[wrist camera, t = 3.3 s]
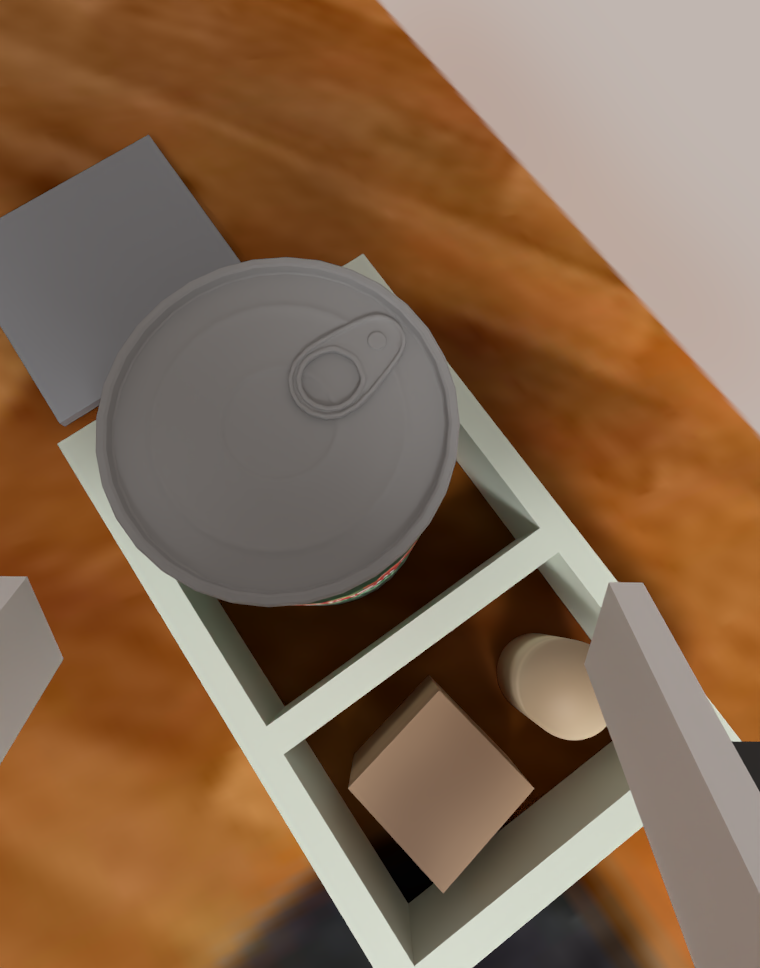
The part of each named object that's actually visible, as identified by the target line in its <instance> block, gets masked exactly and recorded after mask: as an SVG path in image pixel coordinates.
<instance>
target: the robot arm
mask: <svg viewBox="0 0 760 968" xmlns="http://www.w3.org/2000/svg"><path fill="white" fill-rule="evenodd" d="M62 660H63V657H62V654H61V652H60V650H59V648H58V645H57V643H56V641H55V639H54V636H53V634H52V632H51V630H50V627H49V625H48V623H47V621H46V618H45V616H44V614H43V612H42V609H41V607H40V605H39V603H38V600H37V598H36V596H35V594H34V591H33V589H32V587H31V585H30V582H29V580H28V578H27V577H9V576H0V764H1V762H2V760H3V759H4V757H5V755H6V754H7V752H8V750H9V749H10V747H11V745H12V744H13V742H14V740H15V739H16V737H17V735H18V734H19V732H20V730H21V729H22V727H23V725H24V724H25V722H26V720H27V719H28V717H29V715H30V714H31V712H32V710H33V709H34V707H35V705H36V704H37V702H38V700H39V699H40V697H41V695H42V694H43V692H44V690H45V689H46V687H47V685H48V684H49V682H50V680H51V679H52V677H53V675H54V674H55V672H56V670H57V669H58V667H59V665H60V664H61V662H62ZM584 665H585V668H586V670H587V673H588V676H589V679H590V681H591V684H592V687H593V690H594V692H595V695H596V698H597V700H598V703H599V706H600V709H601V711H602V714H603V717H604V720H605V722H606V725H607V728H608V731H609V733H610V736H611V739H612V742H613V744H614V747H615V750H616V752H617V755H618V758H619V761H620V763H621V766H622V769H623V772H624V774H625V777H626V780H627V783H628V785H629V788H630V791H631V794H632V796H633V799H634V802H635V804H636V807H637V810H638V813H639V815H640V818H641V821H642V824H643V826H644V829H645V832H646V835H647V837H648V840H649V843H650V845H651V848H652V851H653V854H654V856H655V859H656V862H657V865H658V867H659V870H660V873H661V876H662V878H663V881H664V884H665V887H666V889H667V892H668V895H669V897H670V900H671V903H672V906H673V908H674V911H675V914H676V917H677V919H678V922H679V925H680V928H681V930H682V933H683V936H684V939H685V941H686V944H687V947H688V949H689V952H690V955H691V958H692V960H693V963H694V966H695V968H760V742H733V741H731V740H730V738H729V736H728V734H727V732H726V731H725V729H724V727H723V725H722V723H721V722H720V720H719V718H718V716H717V714H716V713H715V711H714V709H713V707H712V706H711V704H710V702H709V700H708V698H707V697H706V695H705V693H704V691H703V689H702V688H701V686H700V684H699V682H698V680H697V679H696V677H695V675H694V673H693V671H692V670H691V668H690V666H689V664H688V662H687V661H686V659H685V657H684V655H683V654H682V652H681V650H680V648H679V646H678V645H677V643H676V641H675V639H674V637H673V636H672V634H671V632H670V630H669V628H668V627H667V625H666V623H665V621H664V619H663V618H662V616H661V614H660V612H659V610H658V609H657V607H656V605H655V603H654V602H653V600H652V598H651V596H650V594H649V593H648V591H647V589H646V587H645V585H644V584H643V583H634V582H609V583H608V587H607V590H606V593H605V597H604V600H603V603H602V607H601V610H600V613H599V617H598V620H597V623H596V627H595V630H594V633H593V637H592V640H591V643H590V647H589V650H588V653H587V657H586V660H585V663H584Z"/></svg>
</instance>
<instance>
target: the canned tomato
mask: <svg viewBox="0 0 760 968" xmlns="http://www.w3.org/2000/svg"><path fill="white" fill-rule="evenodd" d="M459 428H460V420H459V411H458V403H457V394H456V388H455V385H454V382H453V379H452V376H451V373H450V370H449V367H448V364H447V361H446V358H445V356H444V354H443V352H442V351H441V349H440V347H439V346H438V344H437V342H436V340H435V339H434V337H433V335H432V333H431V332H430V330H429V328H428V327H427V326H426V325H425V324H424V323H423V322H422V320H421V319H420V318H419V317H418V316H417V315H416V314H415V313H414V311H413V310H412V309H411V308H410V307H409V306H408V305H407V304H406V303H405V302H404V301H402V300H401V299H400V298H398V297H397V296H396V295H394V294H393V293H392V292H391V291H389V290H388V289H387V288H385V287H384V286H383V285H381V284H380V283H378V282H376V281H374V280H372V279H370V278H368V277H366V276H364V275H362V274H360V273H358V272H356V271H354V270H352V269H348V268H345V267H341V266H338V265H334V264H331V263H327V262H324V261H320V260H311V259H301V258H291V257H281V258H268V259H254V260H250V261H246V262H242V263H238V264H234V265H230V266H226V267H222V268H219V269H217V270H215V271H213V272H211V273H208V274H206V275H204V276H202V277H199V278H197V279H195V280H193V281H191V282H189V283H187V284H186V285H184V286H183V287H182V288H180V289H179V290H177V291H176V292H174V293H173V294H171V295H170V296H168V297H167V298H166V299H164V300H163V301H161V302H160V303H159V304H158V305H157V306H156V307H155V308H154V309H153V310H152V311H151V312H150V313H149V314H148V315H147V316H146V317H145V318H144V319H143V320H142V321H141V322H140V323H139V324H138V325H137V326H136V328H135V329H134V331H133V332H132V333H131V335H130V336H129V338H128V339H127V341H126V342H125V344H124V345H123V346H122V348H121V349H120V351H119V352H118V354H117V356H116V358H115V361H114V363H113V365H112V367H111V370H110V372H109V374H108V376H107V379H106V381H105V383H104V386H103V391H102V395H101V399H100V404H99V408H98V413H97V417H96V457H97V462H98V467H99V473H100V478H101V483H102V487H103V490H104V492H105V494H106V497H107V499H108V501H109V504H110V506H111V509H112V511H113V513H114V516H115V518H116V520H117V521H118V522H119V524H120V525H121V527H122V528H123V530H124V531H125V532H126V534H127V535H128V537H129V538H130V539H131V541H132V542H133V544H134V545H135V547H136V548H137V549H138V550H140V551H141V552H142V553H143V554H144V555H145V556H146V557H147V558H148V559H149V560H150V561H152V562H153V563H154V564H155V565H156V566H157V567H158V568H159V569H160V570H161V571H162V572H164V573H166V574H167V575H169V576H171V577H173V578H174V579H176V580H178V581H179V582H181V583H183V584H184V585H186V586H188V587H190V588H191V589H193V590H195V591H197V592H200V593H203V594H206V595H209V596H212V597H215V598H218V599H221V600H224V601H227V602H230V603H237V604H245V605H254V606H262V607H277V606H289V605H292V606H293V605H315V606H328V605H340V604H344V603H347V602H350V601H354V600H357V599H360V598H362V597H364V596H366V595H368V594H370V593H372V592H373V591H375V590H377V589H378V588H380V587H381V586H382V585H383V584H385V583H386V582H387V581H388V580H390V579H391V578H392V577H393V576H394V575H395V574H396V572H397V571H398V570H399V569H400V568H401V566H402V565H403V564H404V563H405V561H406V560H407V558H408V556H409V554H410V552H411V550H412V549H413V547H414V545H415V544H416V542H417V541H418V539H419V537H420V535H421V534H422V532H423V531H424V530H425V529H426V528H427V526H428V525H429V524H430V522H431V520H432V518H433V517H434V515H435V513H436V511H437V509H438V507H439V505H440V504H441V502H442V500H443V498H444V496H445V494H446V492H447V489H448V486H449V483H450V479H451V476H452V473H453V469H454V466H455V463H456V459H457V450H458V439H459Z"/></svg>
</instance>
